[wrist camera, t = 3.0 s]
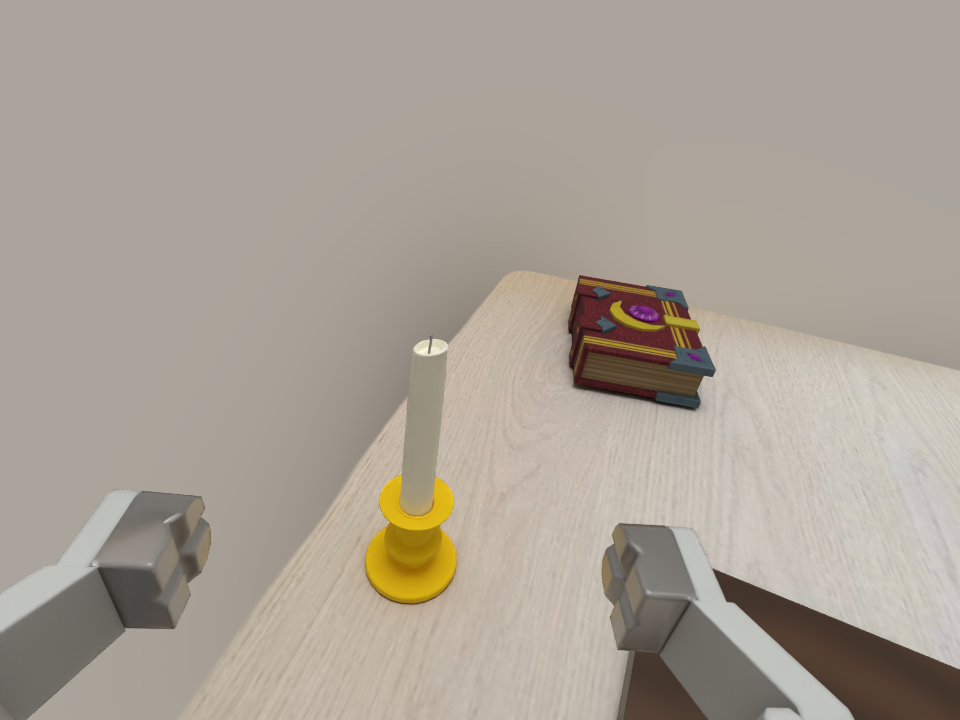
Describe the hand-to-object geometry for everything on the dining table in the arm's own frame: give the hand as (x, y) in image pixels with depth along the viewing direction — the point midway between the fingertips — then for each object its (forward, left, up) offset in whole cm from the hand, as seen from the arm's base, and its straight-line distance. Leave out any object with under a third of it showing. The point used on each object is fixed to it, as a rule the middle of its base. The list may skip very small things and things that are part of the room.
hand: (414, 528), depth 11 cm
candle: (+4, +11, -19) cm, 22 cm away
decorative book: (+31, +28, -19) cm, 46 cm away
